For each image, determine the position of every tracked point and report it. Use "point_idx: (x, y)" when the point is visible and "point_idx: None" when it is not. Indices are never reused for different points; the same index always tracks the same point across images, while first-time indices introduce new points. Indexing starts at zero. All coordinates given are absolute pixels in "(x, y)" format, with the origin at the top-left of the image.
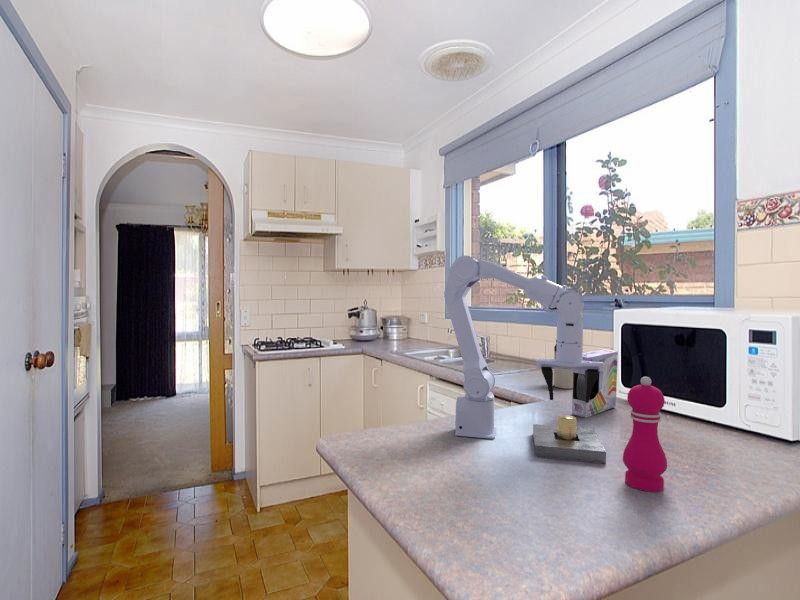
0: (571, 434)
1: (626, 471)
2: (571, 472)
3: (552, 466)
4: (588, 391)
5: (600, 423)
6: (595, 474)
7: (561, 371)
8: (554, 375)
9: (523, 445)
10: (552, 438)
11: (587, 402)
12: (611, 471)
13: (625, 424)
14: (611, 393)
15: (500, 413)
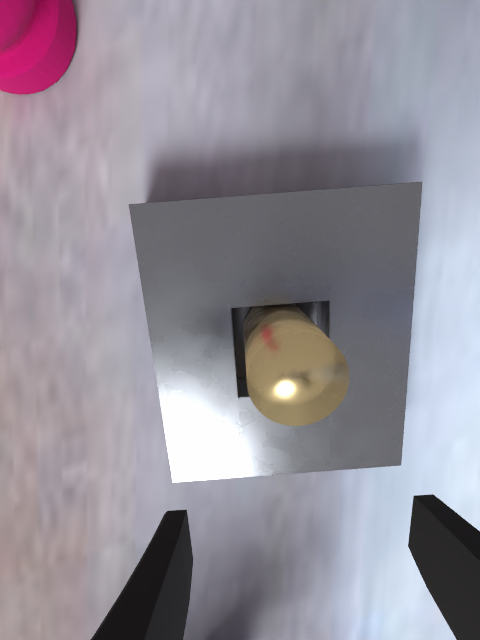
0: (266, 317)
1: (52, 9)
2: (269, 60)
3: (336, 105)
4: (138, 601)
5: None
6: (183, 72)
7: None
8: None
9: (425, 309)
10: (339, 307)
11: (172, 511)
12: (126, 131)
13: (82, 621)
14: None
15: None
